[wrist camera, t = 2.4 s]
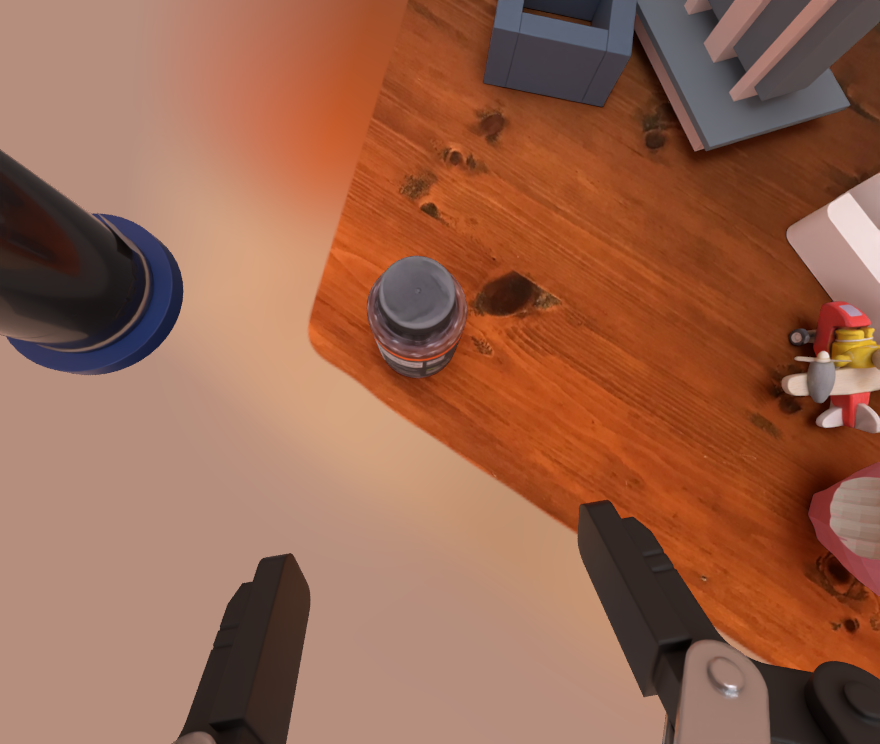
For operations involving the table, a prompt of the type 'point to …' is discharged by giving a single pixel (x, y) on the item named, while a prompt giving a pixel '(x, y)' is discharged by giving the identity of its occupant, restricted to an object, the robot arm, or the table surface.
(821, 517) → the apple
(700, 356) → the table surface
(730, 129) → the desk lamp
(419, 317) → the supplement bottle
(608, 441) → the table surface
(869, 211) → the slotted arch bracket
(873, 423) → the toy airplane
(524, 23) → the stand
